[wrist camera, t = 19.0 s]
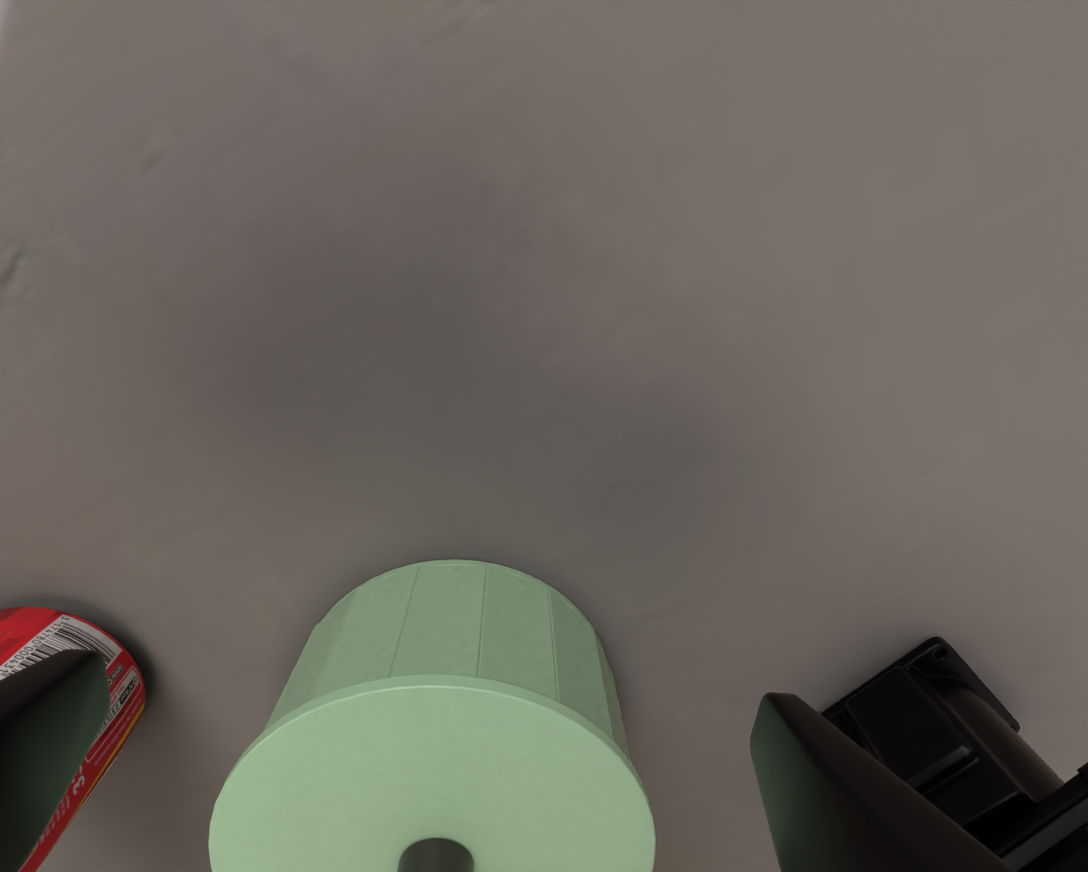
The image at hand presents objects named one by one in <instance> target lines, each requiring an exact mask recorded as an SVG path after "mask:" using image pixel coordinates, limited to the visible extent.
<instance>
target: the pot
mask: <svg viewBox="0 0 1088 872" xmlns="http://www.w3.org/2000/svg"><path fill="white" fill-rule="evenodd" d="M417 674H450V675H466V676H472V677H479V678H485V679H492V680H497V681H501V682H504V683H508V684H512V685H516V686H519V687H523V688H526V689H529V690H531V691H534V692H536V693H539V694H541V695H544V696H547V697H549V698H552V699H554V700H556V701H557V702H559V703H561V704H563V705H565V706H567V707H569V708H570V709H572V710H574V711H576V712H578V713H579V714H580V715H582V716H583V717H585V718H586V719H587V720H589V721H590V722H592V723H593V724H594V725H596V726H597V727H599V728H600V729H601V730H602V731H603V732H604V733H605V734H606V735H607V736H608V737H609V738H610V739H611V740H612V741H613V742H615V743H616V744H617V745H618V747H619V748H620V749H621V751H622V752H623V753H624V754H625V756H626V757H627V758H628V759H629V761H630V762H631V759H630V754H629V749H628V744H627V739H626V735H625V730H624V725H623V720H622V715H621V710H620V706H619V701H618V696H617V691H616V686H615V682H614V677H613V673H612V670H611V668H610V666H609V663H608V661H607V658H606V655H605V652H604V649H603V646H602V643H601V641H600V639H599V638H598V636H597V634H596V632H595V630H594V628H593V627H592V625H591V624H590V623H589V621H588V620H587V619H586V617H585V616H584V615H583V613H582V612H581V611H580V610H579V609H578V608H577V607H576V606H575V605H574V604H573V603H572V602H571V601H570V600H568V599H567V598H566V597H564V596H563V595H562V594H561V593H559V592H558V591H557V590H555V589H554V588H552V587H551V586H549V585H547V584H546V583H544V582H542V581H540V580H539V579H537V578H535V577H532V576H530V575H528V574H525V573H523V572H521V571H518V570H515V569H512V568H508V567H505V566H502V565H498V564H493V563H487V562H481V561H474V560H457V559H451V560H433V561H427V562H421V563H415V564H410V565H407V566H403V567H400V568H397V569H393V570H390V571H388V572H385V573H383V574H381V575H379V576H376V577H374V578H372V579H370V580H368V581H367V582H365V583H363V584H361V585H360V586H358V587H356V588H355V589H353V590H352V591H351V592H349V593H348V594H347V595H346V596H344V597H343V598H342V599H341V600H339V601H338V602H337V603H336V604H335V605H334V606H333V608H332V609H331V610H330V611H329V612H328V613H327V614H326V615H325V616H324V618H323V619H322V621H321V622H319V623H318V624H317V625H316V626H315V627H314V629H313V631H312V633H311V635H310V637H309V639H308V641H307V643H306V645H305V647H304V649H303V651H302V653H301V655H300V657H299V659H298V661H297V663H296V665H295V668H294V670H293V672H292V674H291V676H290V678H289V680H288V682H287V684H286V686H285V688H284V690H283V692H282V694H281V696H280V698H279V700H278V702H277V704H276V706H275V708H274V711H273V713H272V715H271V717H270V719H269V721H268V723H267V725H266V727H265V729H264V731H265V730H266V729H268V728H269V727H270V726H272V725H273V724H274V723H275V722H277V721H278V720H279V719H281V718H282V717H283V716H285V715H286V714H288V713H290V712H291V711H293V710H295V709H297V708H298V707H300V706H302V705H304V704H305V703H307V702H309V701H311V700H313V699H316V698H318V697H321V696H323V695H325V694H328V693H330V692H333V691H335V690H337V689H341V688H344V687H348V686H351V685H355V684H358V683H362V682H365V681H369V680H375V679H381V678H387V677H393V676H400V675H417ZM264 731H263V732H264Z"/></svg>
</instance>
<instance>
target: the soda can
mask: <svg viewBox="0 0 1088 872" xmlns="http://www.w3.org/2000/svg"><path fill="white" fill-rule="evenodd" d="M65 649H84V650H96V651H99V652H100V653H101V654H102V655H103V656H104V660H105V665H106V671H107V678H108V684H109V691H110V698H111V703H110V709H109V713H108V716H107V718H106V720H105V722H104V724H103V726H102V728H101V730H100V731H99V733H98V735H97V737H96V739H95V741H94V742H93V744H92V746H91V748H90V750H89V751H88V753H87V755H86V757H85V759H84V761H83V762H82V764H81V766H80V768H79V770H78V772H77V773H76V775H75V777H74V779H73V781H72V782H71V784H70V786H69V788H68V790H67V792H66V793H65V795H64V797H63V799H62V801H61V803H60V804H59V806H58V808H57V810H56V812H55V813H54V815H53V817H52V819H51V821H50V822H49V824H48V826H47V827H46V829H45V831H44V833H43V834H42V836H41V838H40V839H39V841H38V843H37V844H36V846H35V847H34V849H33V850H32V852H31V853H30V855H29V857H28V858H27V860H26V861H25V863H24V864H23V866H22V867H21V869H20V870H19V872H36V870H37V869H38V867H39V866H40V865H41V863H42V862H43V861H44V859H45V858H46V857H47V855H48V854H49V852H50V851H51V850H52V848H53V847H54V846H55V844H56V843H57V841H58V840H59V839H60V837H61V836H62V835H63V833H64V832H65V830H66V829H67V828H68V826H69V825H70V824H71V822H72V821H73V819H74V818H75V817H76V815H77V814H78V812H79V811H80V810H81V808H82V807H83V806H84V804H85V803H86V801H87V800H88V799H89V797H90V796H91V794H92V793H93V792H94V790H95V789H96V787H97V786H98V785H99V783H100V782H101V780H102V779H103V778H104V776H105V775H106V773H107V772H108V771H109V769H110V768H111V766H112V765H113V763H114V762H115V761H116V759H117V757H118V755H119V754H120V752H121V750H122V749H123V747H124V745H125V743H126V742H127V740H128V738H129V737H130V735H131V733H132V732H133V730H134V728H135V726H136V725H137V723H138V721H139V719H140V717H141V716H142V713H143V709H144V706H145V687H144V682H143V679H142V676H141V673H140V670H139V669H138V667H137V665H136V663H135V661H134V660H133V658H132V657H131V656H130V655H129V653H128V652H127V651H126V649H125V648H124V647H123V646H122V645H121V644H120V643H119V642H118V641H117V640H116V639H115V638H113V637H112V636H111V635H109V634H108V633H107V632H105V631H104V630H103V629H101V628H99V627H97V626H96V625H94V624H92V623H91V622H89V621H86V620H84V619H82V618H79V617H77V616H75V615H72V614H68V613H65V612H62V611H58V610H53V609H47V608H40V607H16V608H8V609H4V610H0V680H1V679H3V678H5V677H7V676H10V675H12V674H14V673H16V672H18V671H20V670H22V669H24V668H26V667H28V666H30V665H32V664H34V663H37V662H39V661H41V660H43V659H45V658H47V657H49V656H51V655H53V654H55V653H57V652H60V651H62V650H65Z"/></svg>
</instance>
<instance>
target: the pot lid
mask: <svg viewBox="0 0 1088 872" xmlns="http://www.w3.org/2000/svg"><path fill="white" fill-rule="evenodd" d="M208 847H209V855H210V863H211V869H212V872H652V870H653V865H654V860H655V848H656V834H655V827H654V821H653V815H652V810H651V806H650V802H649V800H648V797H647V794H646V791H645V788H644V785H643V783H642V781H641V779H640V777H639V776H638V774H637V772H636V770H635V768H634V766H633V765H632V763H631V762H630V761H629V759H628V758H627V757H626V756H625V754H624V753H623V752H622V751H621V749H620V748H619V747H618V745H617V744H616V743H615V742H613V741H612V740H611V739H610V738H609V737H608V736H607V735H606V734H605V733H604V732H603V731H602V730H601V729H600V728H599V727H597V726H596V725H594V724H593V723H592V722H590V721H589V720H587V719H586V718H585V717H583V716H582V715H580V714H579V713H578V712H576V711H574V710H572V709H570V708H569V707H567V706H565V705H563V704H561V703H559V702H557V701H556V700H554V699H552V698H549V697H547V696H544V695H541V694H539V693H536V692H534V691H531V690H529V689H526V688H523V687H519V686H516V685H512V684H508V683H504V682H501V681H497V680H492V679H485V678H479V677H472V676H466V675H450V674H417V675H400V676H393V677H387V678H381V679H375V680H369V681H365V682H362V683H358V684H355V685H351V686H348V687H344V688H341V689H337V690H335V691H333V692H330V693H328V694H325V695H323V696H321V697H318V698H316V699H313V700H311V701H309V702H307V703H305V704H304V705H302V706H300V707H298V708H297V709H295V710H293V711H291V712H290V713H288V714H286V715H285V716H283V717H282V718H281V719H279V720H278V721H277V722H275V723H274V724H273V725H272V726H270V727H269V728H268V729H266V730H265V731H264V732H263V733H262V734H261V735H260V736H259V737H258V738H257V739H256V740H255V741H254V742H253V743H252V744H251V745H250V746H249V747H248V748H247V749H246V750H245V751H244V753H243V754H242V756H241V757H240V758H239V760H238V761H237V763H236V764H235V765H234V767H233V768H232V770H231V772H230V774H229V775H228V777H227V779H226V781H225V783H224V786H223V788H222V790H221V792H220V794H219V796H218V798H217V800H216V803H215V806H214V810H213V814H212V818H211V822H210V830H209V845H208Z"/></svg>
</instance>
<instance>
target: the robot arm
mask: <svg viewBox="0 0 1088 872" xmlns="http://www.w3.org/2000/svg"><path fill="white" fill-rule="evenodd" d="M937 650H938V651H937ZM936 651H937V652H936ZM110 703H111V698H110V691H109V684H108V678H107V671H106V665H105V660H104V656H103V655H102V654H101V653H100V652H99V651H96V650H84V649H65V650H62V651H60V652H57V653H55V654H53V655H51V656H49V657H47V658H45V659H43V660H41V661H39V662H37V663H34V664H32V665H30V666H28V667H26V668H24V669H22V670H20V671H18V672H16V673H14V674H12V675H10V676H7V677H5V678H3V679H1V680H0V872H19V870H20V869H21V867H22V866H23V864H24V863H25V861H26V860H27V858H28V857H29V855H30V853H31V852H32V850H33V849H34V847H35V846H36V844H37V843H38V841H39V839H40V838H41V836H42V834H43V833H44V831H45V829H46V827H47V826H48V824H49V822H50V821H51V819H52V817H53V815H54V813H55V812H56V810H57V808H58V806H59V804H60V803H61V801H62V799H63V797H64V795H65V793H66V792H67V790H68V788H69V786H70V784H71V782H72V781H73V779H74V777H75V775H76V773H77V772H78V770H79V768H80V766H81V764H82V762H83V761H84V759H85V757H86V755H87V753H88V751H89V750H90V748H91V746H92V744H93V742H94V741H95V739H96V737H97V735H98V733H99V731H100V730H101V728H102V726H103V724H104V722H105V720H106V718H107V716H108V713H109V709H110ZM1019 730H1020V726H1019V723H1018V722H1017V721H1016V720H1015V719H1014V718H1013V717H1012V715H1011V714H1010V713H1009V712H1008V711H1007V710H1006V709H1005V707H1004V706H1003V705H1002V704H1001V703H1000V702H999V701H998V699H997V698H996V697H995V696H994V695H993V694H992V693H991V691H990V690H989V689H988V688H987V687H986V686H985V684H984V683H983V682H982V681H981V680H980V679H979V678H978V676H977V675H976V674H975V673H974V672H973V671H972V670H971V668H970V667H969V666H968V665H967V664H966V663H965V662H964V660H963V659H962V658H961V657H960V656H959V655H958V654H957V652H956V651H955V650H954V649H953V648H952V647H951V646H950V645H949V644H948V643H947V642H946V641H945V640H944V639H943V638H940V637H934V638H931V639H929V640H927V641H926V642H924V643H923V644H921V645H920V646H918V647H917V648H915V649H914V650H912V651H911V652H910V653H908V654H907V655H905V656H904V657H902V658H901V659H899V660H898V661H896V662H895V663H894V664H892V665H891V666H889V667H888V668H886V669H885V670H883V671H882V672H880V673H879V674H878V675H876V676H875V677H873V678H872V679H870V680H869V681H867V682H866V683H865V684H863V685H862V686H860V687H859V688H857V689H856V690H854V691H853V692H851V693H850V694H849V695H847V696H846V697H844V698H843V699H841V700H840V701H838V702H837V703H835V704H834V705H833V706H831V707H830V708H828V709H827V710H825V711H824V712H822V713H821V714H819V713H818V712H816V711H815V710H814V709H813V708H811V707H810V706H809V705H808V704H806V703H805V702H804V701H803V700H801V699H800V698H799V697H797V696H796V695H794V694H789V693H773V692H770V693H767V694H765V695H764V696H763V698H762V700H761V703H760V706H759V710H758V713H757V717H756V720H755V724H754V727H753V730H752V734H751V740H750V748H751V755H752V759H753V763H754V767H755V771H756V775H757V779H758V783H759V787H760V791H761V795H762V799H763V803H764V807H765V811H766V815H767V819H768V823H769V827H770V831H771V835H772V839H773V843H774V847H775V851H776V855H777V858H778V862H779V866H780V869H781V872H1088V762H1087V763H1086V764H1084V765H1083V766H1082V767H1080V768H1079V769H1077V771H1078V772H1079V773H1078V774H1077V775H1076V776H1074V777H1073V778H1072V779H1070V780H1069V781H1067V782H1066V783H1064V782H1063V781H1062V780H1061V779H1060V778H1059V777H1058V775H1057V774H1056V773H1055V772H1054V771H1053V770H1052V769H1051V768H1050V767H1049V766H1048V765H1047V764H1046V763H1045V762H1044V761H1043V760H1042V759H1041V758H1040V757H1039V756H1038V755H1037V754H1036V753H1035V751H1034V750H1033V749H1032V748H1031V747H1030V746H1029V745H1028V744H1027V743H1026V742H1025V741H1024V740H1023V739H1022V738H1021V737H1020V736H1019V735H1018V734H1017V733H1018V732H1019Z"/></svg>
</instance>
